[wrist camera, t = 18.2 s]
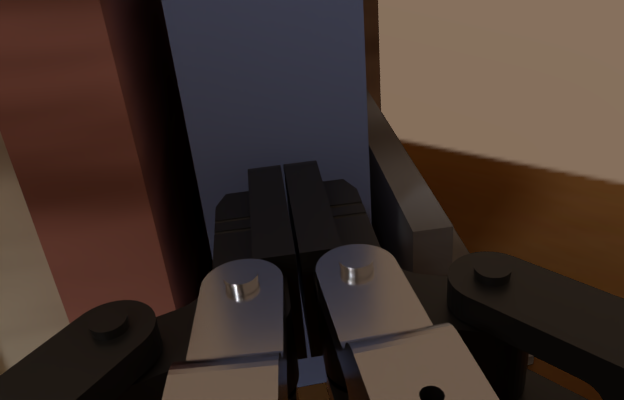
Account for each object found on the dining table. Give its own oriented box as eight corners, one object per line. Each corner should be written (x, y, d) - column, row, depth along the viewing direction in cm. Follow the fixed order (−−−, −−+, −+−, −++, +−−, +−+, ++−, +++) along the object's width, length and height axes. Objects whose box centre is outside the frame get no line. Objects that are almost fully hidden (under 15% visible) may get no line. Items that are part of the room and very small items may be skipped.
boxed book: (377, 372, 17) (354, -221, 10) (240, 397, 17) (121, -203, 10) (317, 207, 26) (283, -175, 19) (225, 221, 25) (157, -164, 19)
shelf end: (533, 364, 17) (635, -399, 9) (-140, 464, 16) (-669, -310, 8) (417, 176, 28) (419, -251, 20) (10, 228, 26) (-156, -204, 19)
